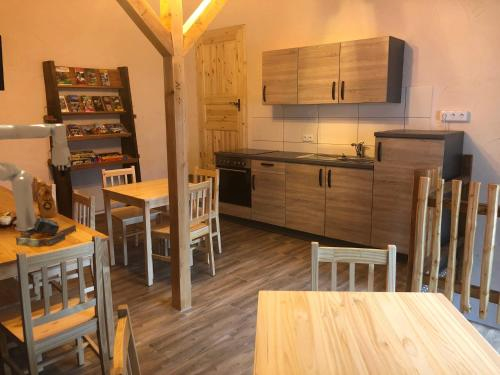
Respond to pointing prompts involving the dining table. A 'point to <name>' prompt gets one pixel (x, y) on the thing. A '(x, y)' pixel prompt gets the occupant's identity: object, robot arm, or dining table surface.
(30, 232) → the trap lane
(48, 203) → the coffee package
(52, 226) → the box
